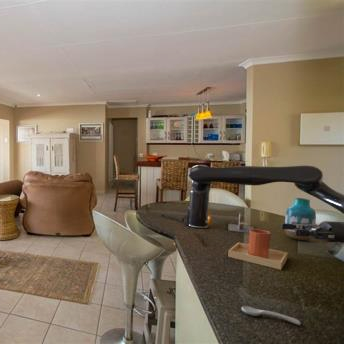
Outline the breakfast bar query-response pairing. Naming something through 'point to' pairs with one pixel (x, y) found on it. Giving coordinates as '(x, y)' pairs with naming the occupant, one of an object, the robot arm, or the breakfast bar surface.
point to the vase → (300, 216)
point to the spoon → (257, 312)
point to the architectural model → (240, 226)
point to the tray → (274, 259)
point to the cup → (259, 243)
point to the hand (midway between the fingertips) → (288, 229)
